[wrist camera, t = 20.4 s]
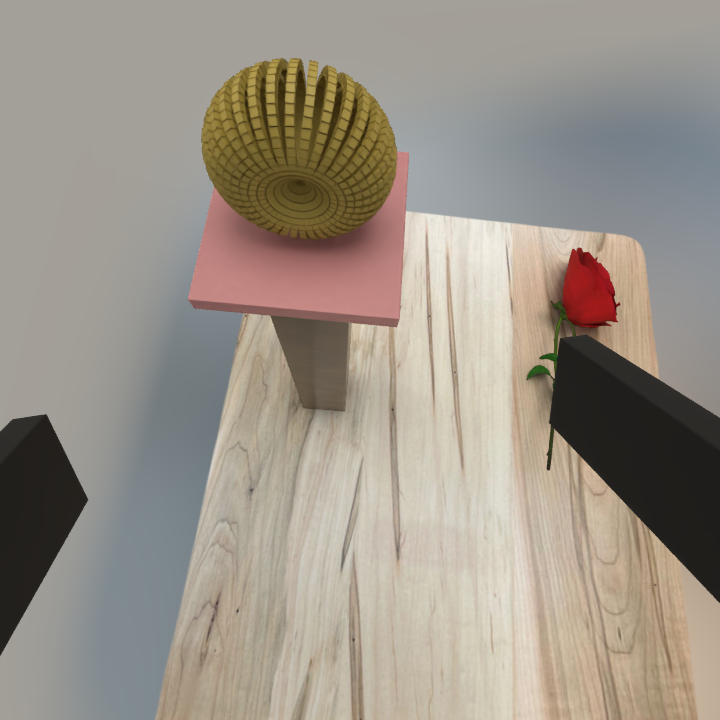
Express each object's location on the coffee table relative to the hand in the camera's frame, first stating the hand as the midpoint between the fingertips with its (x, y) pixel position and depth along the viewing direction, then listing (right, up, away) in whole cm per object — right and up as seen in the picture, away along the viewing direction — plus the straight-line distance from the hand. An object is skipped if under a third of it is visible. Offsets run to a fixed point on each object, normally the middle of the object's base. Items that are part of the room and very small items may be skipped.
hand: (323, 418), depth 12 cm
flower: (+26, +1, +44) cm, 52 cm away
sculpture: (-2, +8, +11) cm, 14 cm away
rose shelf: (-2, +8, +12) cm, 14 cm away
